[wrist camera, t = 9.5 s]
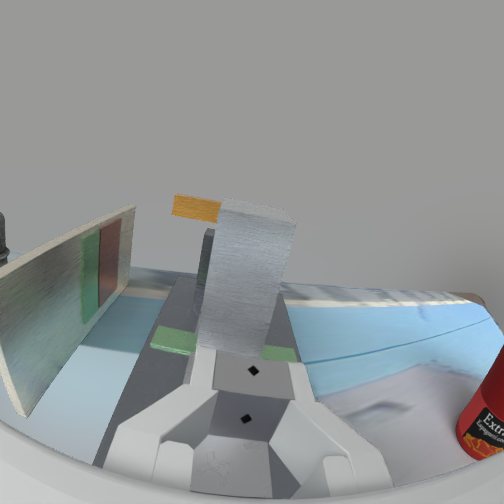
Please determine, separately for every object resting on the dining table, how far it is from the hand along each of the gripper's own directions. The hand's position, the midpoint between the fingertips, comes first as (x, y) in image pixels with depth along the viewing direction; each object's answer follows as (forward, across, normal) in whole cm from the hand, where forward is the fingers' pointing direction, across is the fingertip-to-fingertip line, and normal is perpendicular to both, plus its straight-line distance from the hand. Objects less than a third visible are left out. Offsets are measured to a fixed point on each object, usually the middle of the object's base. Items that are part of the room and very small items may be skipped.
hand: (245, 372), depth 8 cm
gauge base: (+15, +3, +12) cm, 19 cm away
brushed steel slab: (+15, +1, +10) cm, 18 cm away
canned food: (+4, -26, +11) cm, 28 cm away
